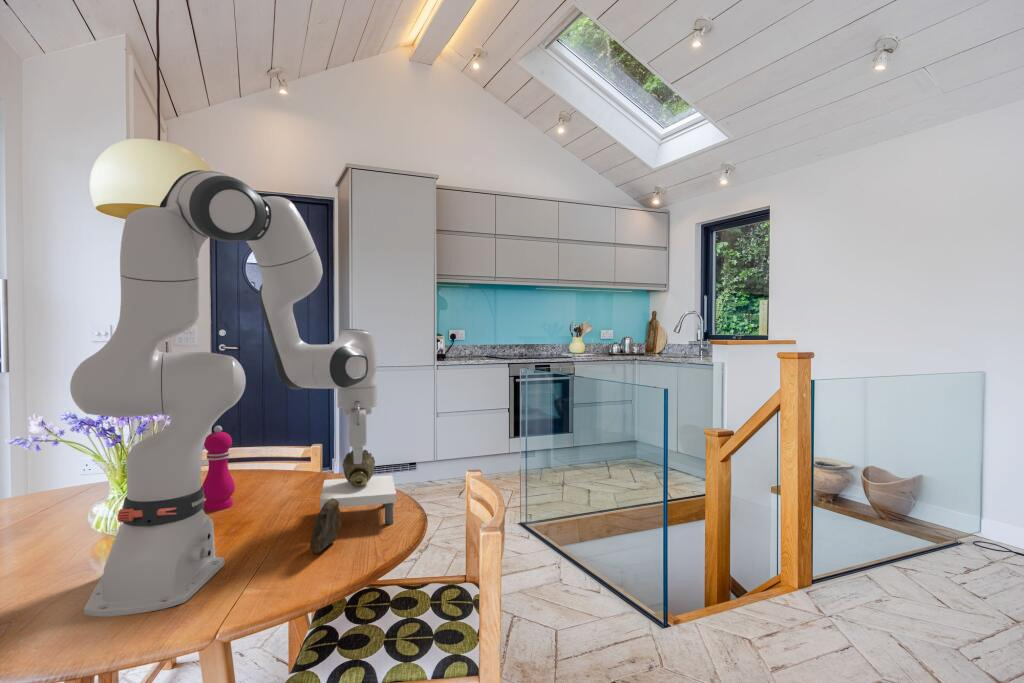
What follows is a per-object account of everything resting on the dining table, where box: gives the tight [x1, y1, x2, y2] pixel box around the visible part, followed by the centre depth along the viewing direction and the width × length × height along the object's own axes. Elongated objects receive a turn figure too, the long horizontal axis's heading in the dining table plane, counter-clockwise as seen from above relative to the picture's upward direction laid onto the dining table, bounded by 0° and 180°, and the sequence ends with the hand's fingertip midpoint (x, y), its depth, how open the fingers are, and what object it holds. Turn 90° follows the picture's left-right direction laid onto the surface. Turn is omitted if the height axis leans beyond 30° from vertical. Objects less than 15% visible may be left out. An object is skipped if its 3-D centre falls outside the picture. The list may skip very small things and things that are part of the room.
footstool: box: [319, 474, 397, 526], centre depth 125 cm, size 16×16×7 cm
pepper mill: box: [201, 425, 236, 512], centre depth 131 cm, size 7×7×20 cm
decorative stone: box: [309, 498, 342, 554], centre depth 105 cm, size 10×9×4 cm
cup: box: [342, 449, 376, 486], centre depth 126 cm, size 8×7×8 cm
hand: (357, 458), depth 125 cm, fingers open, 8 cm apart
